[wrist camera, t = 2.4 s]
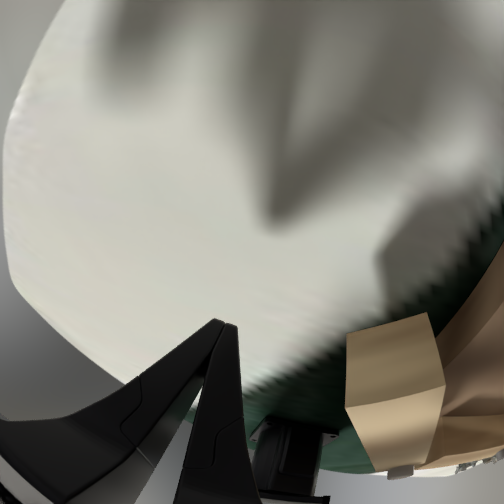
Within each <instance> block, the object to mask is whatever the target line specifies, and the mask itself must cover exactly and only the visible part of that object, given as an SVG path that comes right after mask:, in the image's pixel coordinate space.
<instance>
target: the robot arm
mask: <svg viewBox="0 0 504 504" xmlns="http://www.w3.org/2000/svg"><path fill="white" fill-rule="evenodd" d="M202 386H203V387H202ZM201 388H202V391H201V395H200V399H199V403H198V407H197V411H196V414H195V418H194V422H193V427H192V431H191V434H190V438H189V442H188V446H187V451H186V455H185V459H184V463H183V469H182V471H181V475H180V479H179V483H178V487H177V491H176V494H175V498H174V501H173V504H262V502H268V503H275V504H329V502H330V496H323V497H315V496H314V493H315V487H316V483H317V477H318V472H319V466H320V460H321V454H322V447H323V446H325V445H326V444H328V443H330V442H332V441H333V440H335V439H337V438H338V437H339V431H334V430H328V429H322V428H317V427H311V426H306V425H301V424H297V423H292V422H288V421H283V420H279V419H275V418H271V417H267V418H265V419H264V420H263V421H262V422H261V423H260V425H259V426H258V427H257V428H256V429H255V430H254V432H253V433H252V434H251V435H250V438H249V440H251V441H254V442H257V444H256V448H255V451H254V455H253V458H252V462H250V458H249V453H248V448H247V443H246V435H245V426H244V418H243V416H244V415H243V401H242V387H241V373H240V357H239V341H238V328H237V326H236V325H233V324H230V323H226V324H225V322H224V321H221V320H218V319H215V318H214V319H212V320H211V321H209V322H208V323H207V324H205V325H204V326H203V327H202V328H200V329H199V330H198V331H196V332H195V333H194V334H193V335H191V336H190V337H189V338H187V339H186V340H185V341H183V342H182V343H181V344H180V345H178V346H177V347H176V348H174V349H173V350H172V351H170V352H169V353H168V354H166V355H165V356H164V357H162V358H161V359H160V360H158V361H157V362H156V363H154V364H153V365H152V366H150V367H149V368H148V369H146V370H145V371H144V372H142V373H141V374H140V375H139V376H137V377H135V378H134V379H133V380H131V381H130V382H129V383H127V384H126V385H124V386H123V387H121V388H120V389H118V390H117V391H115V392H113V393H111V394H110V395H108V396H106V397H104V398H102V399H101V400H99V401H97V402H95V403H93V404H91V405H89V406H87V407H85V408H83V409H81V410H79V411H77V412H75V413H73V414H70V415H68V416H64V417H60V418H53V419H42V420H27V421H10V420H9V419H7V418H6V417H5V416H3V415H2V414H1V413H0V504H134V503H135V501H136V499H137V498H138V496H139V495H140V493H141V491H142V490H143V488H144V486H145V485H146V483H147V481H148V480H149V478H150V476H151V474H152V473H153V471H154V469H155V468H156V466H157V464H158V463H159V461H160V459H161V458H162V456H163V454H164V452H165V450H166V449H167V447H168V446H169V444H170V442H171V440H172V438H173V437H174V435H175V433H176V432H177V430H178V428H179V426H180V425H181V423H182V421H183V420H184V418H185V416H186V414H187V412H188V411H189V409H190V407H191V405H192V404H193V402H194V400H195V398H196V396H197V395H198V393H199V391H200V389H201Z"/></svg>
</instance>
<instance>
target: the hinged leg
mask: <svg viewBox="0 0 504 504" xmlns="http://www.w3.org/2000/svg"><path fill="white" fill-rule="evenodd" d="M445 387H446V383H445V378H444V373H443V369H442V365H441V360H440V356H439V352H438V349H437V345H436V341H435V338H434V334H433V331H432V327H431V324H430V321H429V318H428V315H427V312H425V313H422V314H419V315H415V316H412V317H409V318H405V319H402V320H398V321H395V322H391V323H387V324H384V325H380V326H376V327H372V328H368V329H364V330H360V331H355V332H351V333H347V365H346V395H345V409H346V411H347V413H348V415H349V417H350V419H351V421H352V423H353V425H354V428H355V430H356V432H357V434H358V436H359V438H360V440H361V442H362V444H363V446H364V448H365V450H366V452H367V454H368V456H369V458H370V460H371V462H372V464H373V466H374V468H375V470H376V472H383V471H388V476H387V479H388V480H395V479H401V478H406V477H409V476H412V475H413V470H414V466H415V465H419V464H423V463H425V461H426V458H427V455H428V452H429V449H430V446H431V443H432V440H433V437H434V433H435V430H436V426H437V423H438V419H439V415H440V411H441V407H442V402H443V397H444V393H445Z"/></svg>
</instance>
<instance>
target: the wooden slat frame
mask: <svg viewBox="0 0 504 504" xmlns="http://www.w3.org/2000/svg"><path fill="white" fill-rule="evenodd" d="M435 341H436V345H437V349H438V352H439V356H440V360H441V365H442V369H443V373H444V378H445V383H446V387H445V393H444V397H443V402H442V407H441V411H440V415H439V419H438V423H437V426H436V430H435V433H434V437H433V440H432V443H431V446H430V449H429V452H428V455H427V458H426V461H425V463H423V464H419V465H415V466H414V470H421V469H430V468H438V467H445V466H452V465H457V464H463V463H467V462H472V461H477V460H481V459H485V458H488V457H492V456H494V455H495V454H496V456H497V461H498V460H501V459H503V458H504V242H503V243H502V245H501V247H500V249H499V251H498V252H497V254H496V256H495V257H494V259H493V261H492V262H491V264H490V266H489V267H488V269H487V271H486V272H485V274H484V275H483V277H482V278H481V280H480V281H479V283H478V284H477V286H476V287H475V289H474V290H473V291H472V293H471V294H470V296H469V297H468V298H467V300H466V301H465V302H464V304H463V305H462V306H461V308H460V309H459V310H458V312H457V313H456V314H455V315H454V317H453V318H452V319H451V320H450V322H449V323H448V324H447V325H446V327H445V328H444V329H443V330H442V331H441V332H440V334H439V335H438V336H437V337H436V338H435Z"/></svg>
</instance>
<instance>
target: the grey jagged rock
mask: <svg viewBox="0 0 504 504" xmlns="http://www.w3.org/2000/svg"><path fill="white" fill-rule="evenodd" d="M481 460H483V463H484V464H487V463H489V462H492V461H493V462H494V463H496V462H497V456H496V454H495V455H494V456H492V457H488V458H485V459H481ZM478 461H480V460H477V461H472V462H467V463H463V464H459V467H457V469H456V471H455V474H457V473H458V472H460V471H464V470H466V468H467V467H469V466H473V467H474V466H475V465H476V463H477V462H478Z"/></svg>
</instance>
